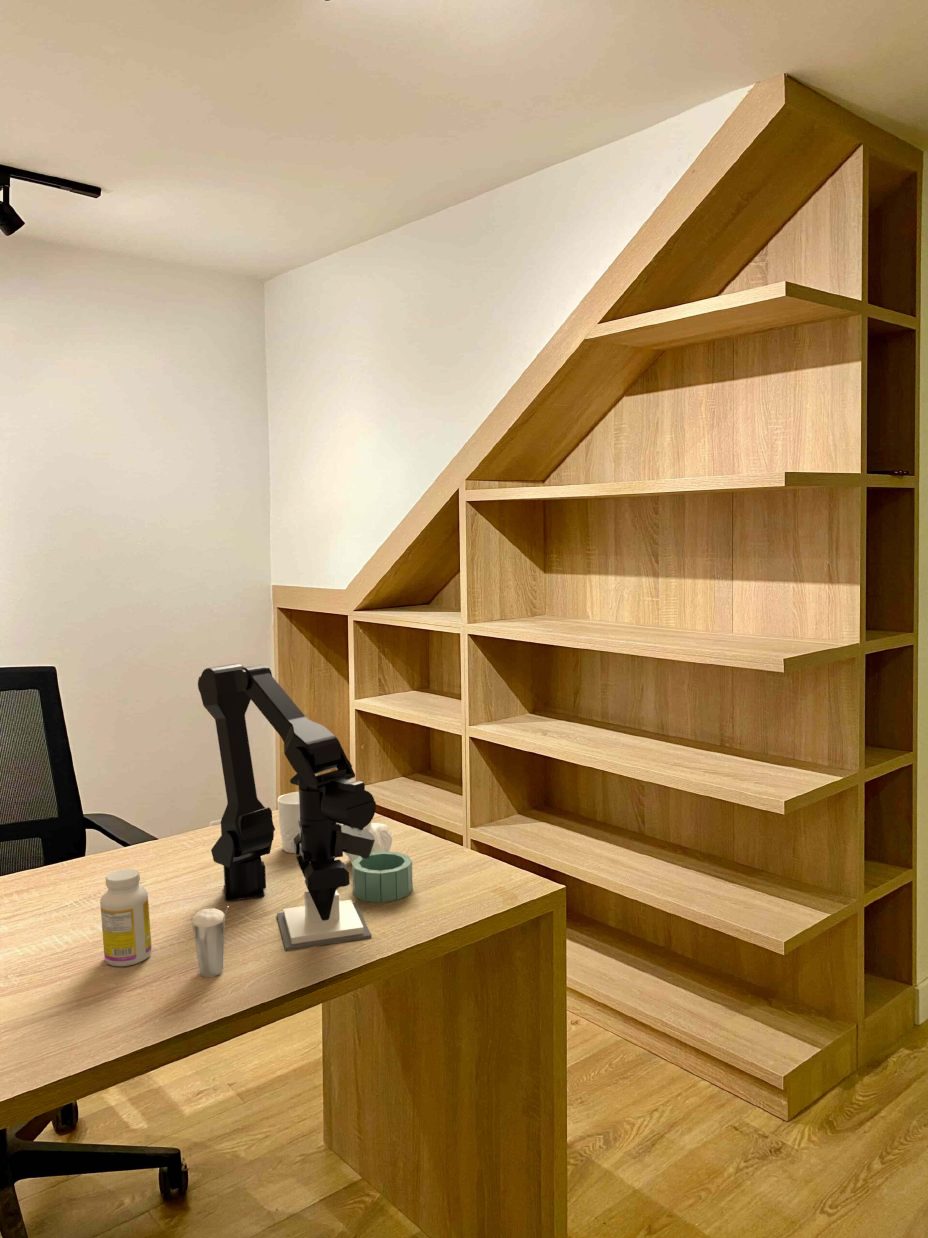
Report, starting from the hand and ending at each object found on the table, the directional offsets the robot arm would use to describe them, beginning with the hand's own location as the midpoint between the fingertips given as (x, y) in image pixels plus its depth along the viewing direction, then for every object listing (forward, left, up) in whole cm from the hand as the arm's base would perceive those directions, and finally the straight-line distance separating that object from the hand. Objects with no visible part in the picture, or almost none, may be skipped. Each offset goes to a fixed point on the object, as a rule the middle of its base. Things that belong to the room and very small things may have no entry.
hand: (322, 911), depth 149 cm
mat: (0, 0, -2) cm, 2 cm away
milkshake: (-17, -10, -3) cm, 20 cm away
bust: (+12, +27, -3) cm, 30 cm away
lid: (0, 0, -2) cm, 2 cm away
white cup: (+1, +37, -3) cm, 37 cm away
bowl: (+12, +11, -2) cm, 16 cm away
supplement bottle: (-29, -1, -3) cm, 29 cm away
